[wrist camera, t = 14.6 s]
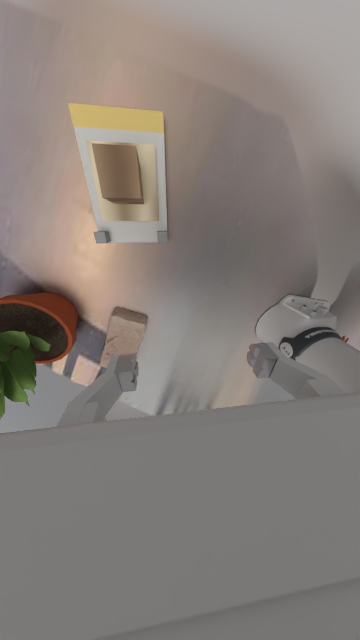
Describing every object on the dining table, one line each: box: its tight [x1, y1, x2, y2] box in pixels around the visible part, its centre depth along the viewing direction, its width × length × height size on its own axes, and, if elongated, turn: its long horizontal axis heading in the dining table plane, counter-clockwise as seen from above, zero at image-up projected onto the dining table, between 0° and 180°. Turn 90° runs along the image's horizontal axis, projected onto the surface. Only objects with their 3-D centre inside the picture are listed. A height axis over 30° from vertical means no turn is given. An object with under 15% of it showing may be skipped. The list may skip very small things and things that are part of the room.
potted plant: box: [0, 292, 78, 418], centre depth 24 cm, size 15×15×30 cm
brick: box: [100, 307, 147, 367], centre depth 41 cm, size 17×8×5 cm, turn 158°
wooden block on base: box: [86, 140, 159, 221], centre depth 22 cm, size 9×9×8 cm
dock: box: [68, 103, 168, 243], centre depth 25 cm, size 12×16×6 cm
